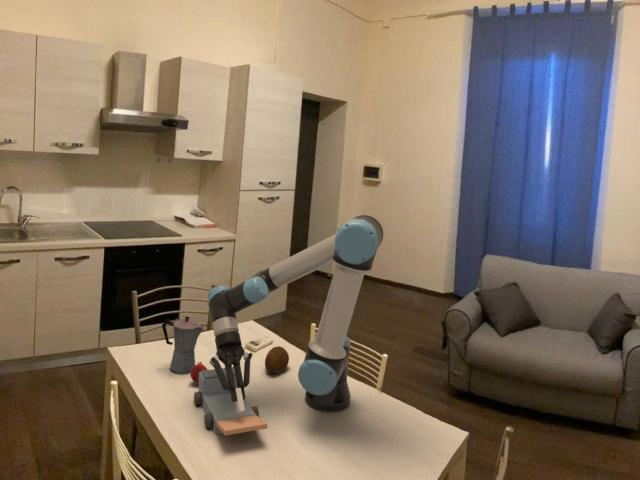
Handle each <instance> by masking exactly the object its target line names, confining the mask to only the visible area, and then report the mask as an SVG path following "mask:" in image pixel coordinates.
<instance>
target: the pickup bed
mask: <svg viewBox="0 0 640 480" xmlns="http://www.w3.org/2000/svg"><path fill="white" fill-rule="evenodd" d="M221 368H222V370H223V372H224V375H225V377H226V379H227V373H226V369H225V367H221ZM232 370H233V376H234V381H235V389H236V388H238V386H237V381H236V375H235V370H234V367H233V366H232ZM227 381H228V379H227ZM197 387H198V389H197V390H198V391H196V392H194V394H193V401H194V405H195V406H201V407H202V410H203V411H204V416H203V419H204V420H203V421H204V427H205V429H210V428H211V429H212V430H213V433H214V434H219V433H222V431H221V430H220V429H219V428H218V427H217V426H216V421H220V420H226V419H232V418H239V417H245V416H251V415H257V416H258V417H259V416H260V412H259V408H258V406H257V405H255V406H252V405H250V403H249V402H248V400H247V399H246V398H245V400H243V402H244V408H245V411H244V412H243V413H240V414H237V408H236V403H235V402H232V399H231V393H230V392H229V390H224V389H223V387H222V385H221V383H220V380H219V378H218V376H217V373H216V371H215V369H214V368H213V369H207V370H204V371H201V372H199V384H198V386H197ZM244 391H246V390H245V389H244ZM259 418H260V417H259Z"/></svg>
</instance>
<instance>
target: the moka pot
mask: <svg viewBox="0 0 640 480" xmlns="http://www.w3.org/2000/svg"><path fill="white" fill-rule="evenodd" d="M167 325H168V326H171V327H173V339H174V340H173V342H172V341H170V339H169V336H168V331H167ZM161 328H162V331H163V335H164V339H165V343H166V344H167V345H169V346H172V345H174V349H173V354H172V358H171V362H170V370H171V371H172V372H173V373H176V374H191V370H192V368H193V367H194V366H195V365H196V358H195V356H196V354H195V353H196V352H195V349H196V346H197V341H198V338H199V337H200V335H201V333H202V331H204V330H205V327H204V326H203V325H202V324H200V322H199V321H197V320H194V319H190V316H184V319H179V320H174V319H173V320H171V319H167V318H166V320H165V321H164V322H163V323H162V324H161ZM173 343H174V344H173Z"/></svg>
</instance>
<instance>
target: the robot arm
mask: <svg viewBox="0 0 640 480" xmlns="http://www.w3.org/2000/svg"><path fill="white" fill-rule="evenodd" d="M383 240H384V229H383V227H382V224H381V223H380V222H379V221H378V219H376V218H375V217H373V216H370V215H365V214H359V215H358V216H355V217H353V218H351V219H350V220H348V221H346V222H345V223H343V224H342V225H341V226H340V227H339V228H338V229H336V232H335V233H334V234H333V235H331V236H328V237H327V238H325V239H323V240H321V241H319V242H317V243H315V244H313V245H311V246H309V247H307V248H305V249H303V250H301V251H299V252H297V253H295V254H293V255H291V256H289V257H287V258H285V259H283V260H281V261H280V262H278V263H275V264H273V265H271V266H270V267H267V268H265V269H264V270H263V269H262V270H260V271H258V272H256V273H255V274H254V275H252V276H251V277H249V278H248V279H245V280H244V281H243V282H241V283H239V284H238V285H235V286H233V287H229V286H227V285H219V286H215V287H213V288H211V289H210V290H209V291H208V293H207V299H208V301H207V302H208V307H209V313H210V317H211V323H212V329H213V335H214V337H215V338H214V342H215V347H216V353H215V356H212V357H211V358H210V360H209V364H210V365H211V366H212V367H213V369H215V371H216V373H217V376H218V378H219V380H220V383H221V385H222V387H223V389H224V390H229V392H230V393H231V399H232V402H235V403H236V408H237V414H240V413H243V412H244V411H245V408H244V402H243V400H245V399H246V392H245V391H246V390H245V388H247V387H248V386H249V384H250V381H251V380H250V379H251V360H252V358H253V353H252V352H249V353H248V352H247V351H245V348H243V345H242V339H241V335H240V333H239V332H240V328H239V325H238V324H239V323H238V319H237V313H238V312H239V313H240V312H241V311H242V310H244V309H247V308H249V307H252V306H253V305H255V304H259V303H260V302H261V301H263V300H265V299H266V298H267V297H268V296H269V294H270V293H272V292H274V291H277V290H278V289H280V288H282V287H284V286H286V285H288V284H291V283H293V282H294V281H296V280H298V279H300V278H302V277H304V276H307V275H310V274H312V273H313V272H316V271H317V270H319V269H320V270H321V268H324V267H325V266H328V265H330V264H332V263H333V264H334V266H335V268H334V270H333V271H334V272H333V275H332V278H331V282H330V285H329V289H328V293H327V297H326V300H325V303H324V307H323V310H322V314H321V317H320V322H319V325H318V328H317V332H316V335H315V337H314V339H312V340H310V341H309V343H308V346H307V349H306V352H305V356H304V360H303V362H302V363H301V365H300V366H299V368H298V373H297V377H298V382H299V383H300V385H301V387H302V388H303V389H304V390H305V394H304V401H305V403H306V404H307V405H308V406H309V407H311V408H312V409H315V410H318V411H323V412H329V413H330V412H339V411H343V410H346V409H348V408H349V406H350V404H351V399H352V398H351V392H350V387H349V384H348V372H349V371H348V370H349V363H350V362H349V360H350V350H351V339H350V338H349V337H348V336H347V334H348V331H349V327H350V323H351V320H352V317H353V315H354V311H355V307H356V304H357V299H358V297H359V294H360V290H361V287H362V283H363V280H364V276H365V274H367V273H369V272H371V271H372V269H373V264H374V261H375V258H376V255H377V251H378V249H379V247H380V246H381V244H382V243H383ZM242 358H243V360H244V365H243V373H242V368H241V360H242ZM220 362H221V363H222V364H223V365H224V368H225V369H226V373H227V379H228V381H227V379H226V377H225V375H224V372H223V370H222V368H223V367H222V365H221V363H220ZM232 367H234V370H235V375H236V381H237V386H238V388H236V389H235V381H234V376H233V370H232ZM244 390H245V391H244Z"/></svg>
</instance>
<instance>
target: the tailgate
mask: <svg viewBox="0 0 640 480" xmlns="http://www.w3.org/2000/svg"><path fill="white" fill-rule="evenodd" d="M216 426H217V427H218V428H219V429H220V430H221V431H222V432H221V433H222V434H223V435H224V436H229V435H235V434H237V435H238V434H241V433H247V432H248V433H249V432H253V431H259V430H264V429H268V423H267V422H265V421H264V420H263V419H262V418H260V417H258V416H257V415H251V416H245V417H239V418H232V419H226V420H220V421H216Z"/></svg>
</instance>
